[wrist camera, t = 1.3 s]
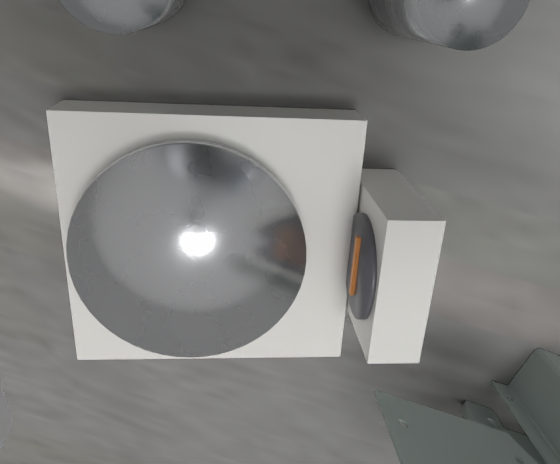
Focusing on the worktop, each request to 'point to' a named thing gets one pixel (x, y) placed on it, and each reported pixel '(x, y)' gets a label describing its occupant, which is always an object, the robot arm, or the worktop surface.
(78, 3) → the grey metal knob
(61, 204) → the scale
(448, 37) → the cylinder
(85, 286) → the pan
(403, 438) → the bracket
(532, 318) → the worktop surface
